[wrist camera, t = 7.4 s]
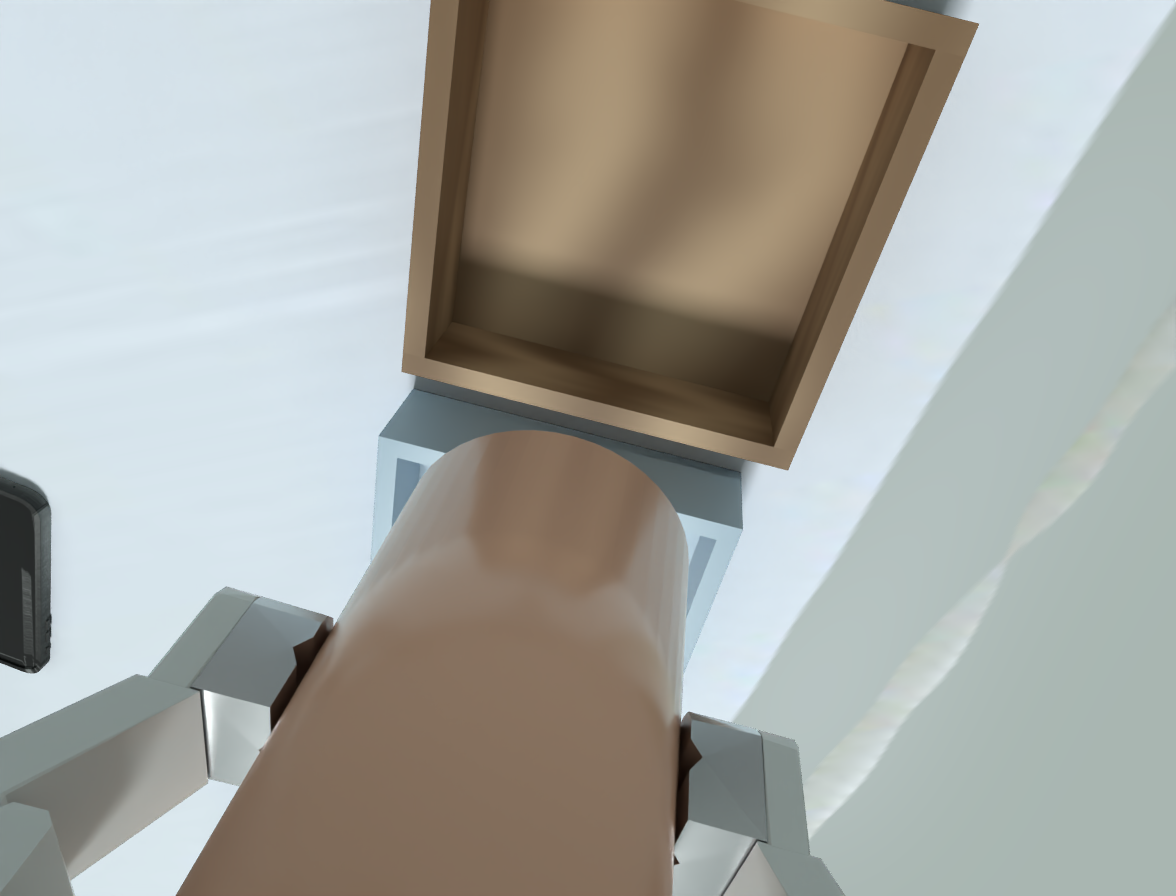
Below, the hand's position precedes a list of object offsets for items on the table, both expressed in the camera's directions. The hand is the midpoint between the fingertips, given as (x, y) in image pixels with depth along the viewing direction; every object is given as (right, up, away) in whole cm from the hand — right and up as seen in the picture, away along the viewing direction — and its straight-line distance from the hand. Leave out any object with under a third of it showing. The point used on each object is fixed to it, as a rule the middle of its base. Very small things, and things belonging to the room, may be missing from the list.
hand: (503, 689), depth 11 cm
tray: (+3, +12, +17) cm, 21 cm away
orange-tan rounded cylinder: (0, +2, +3) cm, 3 cm away
